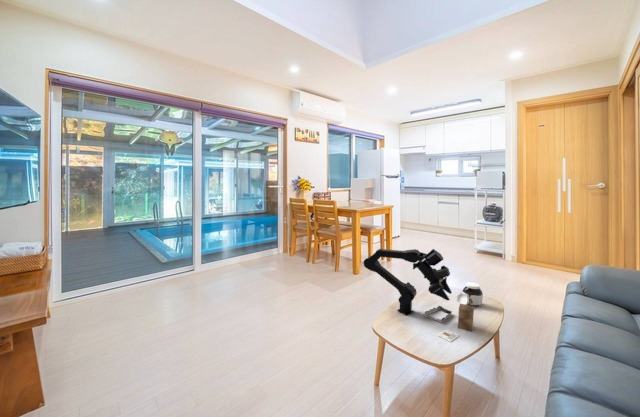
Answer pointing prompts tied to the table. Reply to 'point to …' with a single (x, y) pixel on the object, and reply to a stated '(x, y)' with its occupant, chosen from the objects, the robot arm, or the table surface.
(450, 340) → the card
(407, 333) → the table surface
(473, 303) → the spread jar
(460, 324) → the walnut block
